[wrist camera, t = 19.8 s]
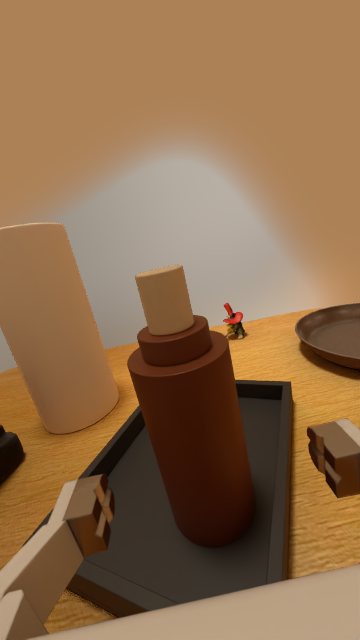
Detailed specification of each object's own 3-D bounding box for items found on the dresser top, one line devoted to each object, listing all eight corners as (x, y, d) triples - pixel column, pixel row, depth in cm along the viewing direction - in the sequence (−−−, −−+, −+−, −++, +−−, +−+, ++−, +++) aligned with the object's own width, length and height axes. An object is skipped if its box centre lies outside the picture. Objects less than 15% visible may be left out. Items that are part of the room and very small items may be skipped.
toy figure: (239, 364, 49) (215, 351, 45) (226, 361, 52) (202, 348, 48) (256, 317, 51) (235, 301, 47) (242, 316, 54) (221, 301, 50)
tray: (284, 710, 11) (278, 678, 10) (35, 570, 18) (21, 546, 18) (292, 401, 29) (290, 381, 29) (166, 392, 37) (162, 377, 36)
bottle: (271, 533, 17) (228, 260, 12) (177, 560, 17) (91, 292, 11) (238, 457, 23) (201, 256, 18) (169, 476, 23) (111, 277, 18)
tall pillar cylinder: (97, 381, 45) (46, 234, 38) (133, 397, 38) (77, 218, 30) (34, 417, 38) (-43, 246, 31) (61, 446, 31) (-32, 229, 23)
